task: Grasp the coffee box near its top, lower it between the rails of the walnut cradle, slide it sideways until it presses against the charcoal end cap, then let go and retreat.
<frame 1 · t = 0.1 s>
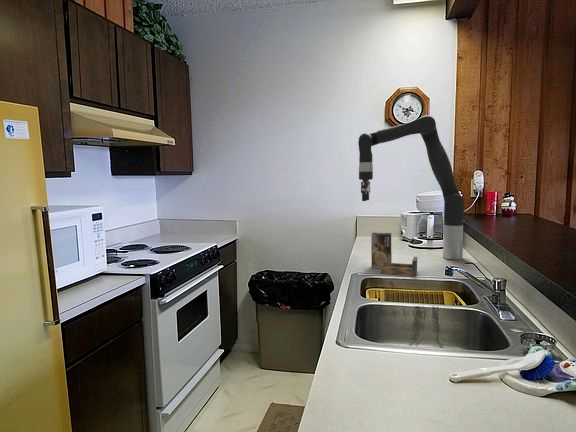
hand: (365, 200, 221), 29 cm above the countertop, fingers open, 8 cm apart
coffee box: (381, 267, 189), on the countertop
endcap cradle: (399, 272, 178), on the countertop
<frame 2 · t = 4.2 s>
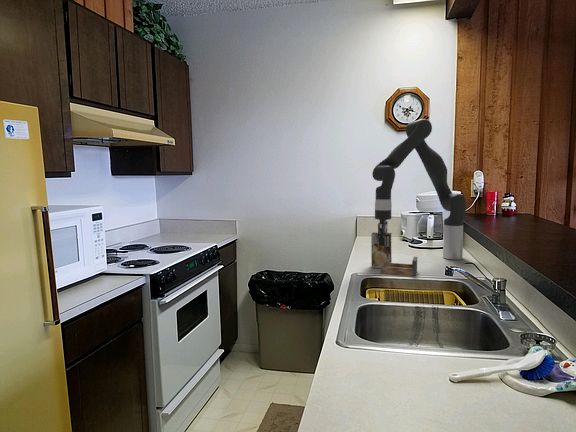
hand: (382, 244, 188), 11 cm above the countertop, fingers closed on coffee box, 6 cm apart
coffee box: (381, 267, 189), on the countertop, touching gripper
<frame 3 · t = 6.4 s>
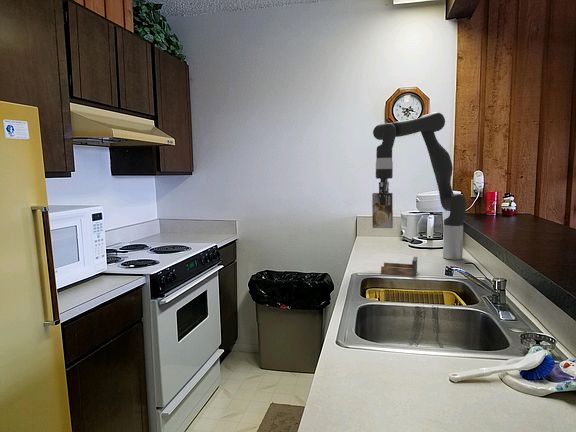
hand: (383, 204, 186), 30 cm above the countertop, fingers closed on coffee box, 6 cm apart
coffee box: (382, 228, 187), point 19 cm above the countertop, touching gripper
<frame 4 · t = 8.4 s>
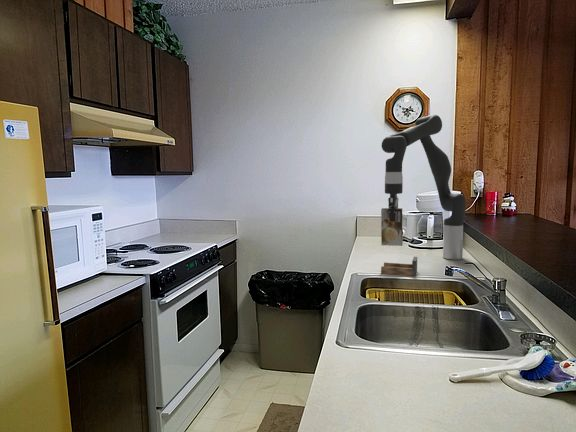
hand: (393, 220, 177), 23 cm above the countertop, fingers closed on coffee box, 6 cm apart
coffee box: (391, 245, 178), point 12 cm above the countertop, touching gripper
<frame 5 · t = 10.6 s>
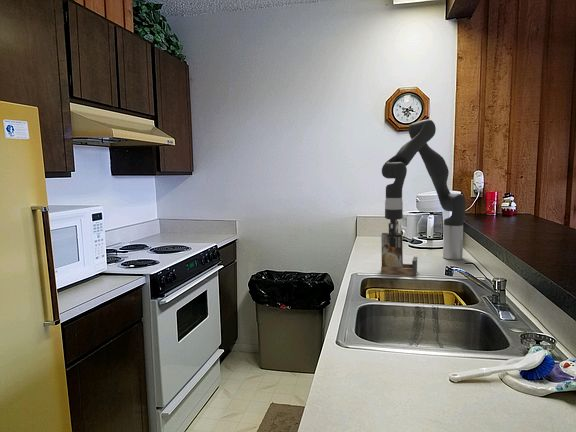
hand: (393, 245, 178), 12 cm above the countertop, fingers closed on coffee box, 6 cm apart
coffee box: (392, 269, 179), point 1 cm above the countertop, touching gripper
when the fingers open (12 cm above the countertop, at t = 12.7 s): coffee box stays where it is, resting on endcap cradle.
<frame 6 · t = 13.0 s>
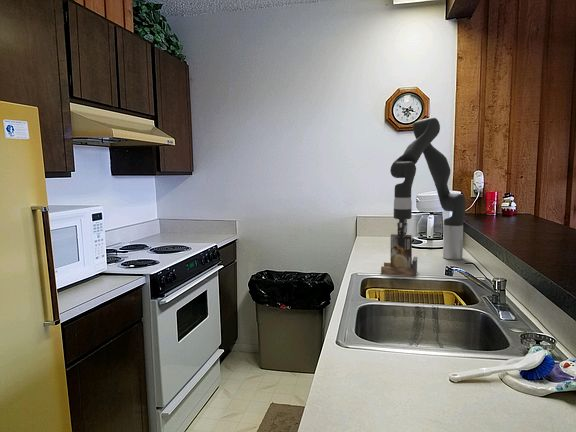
hand: (402, 244, 177), 13 cm above the countertop, fingers open, 8 cm apart
coffee box: (401, 271, 178), resting on endcap cradle
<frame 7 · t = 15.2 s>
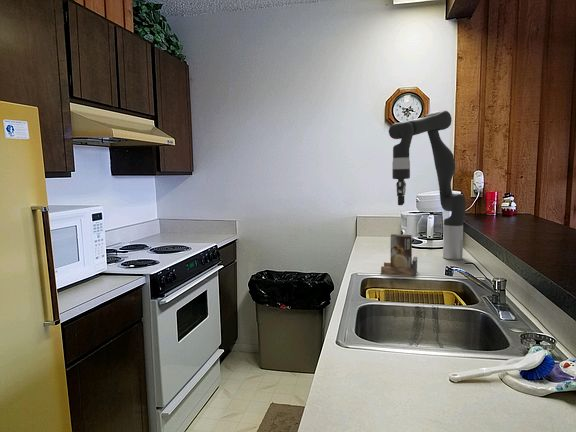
hand: (401, 204, 181), 30 cm above the countertop, fingers open, 8 cm apart
nothing on the countertop moved.
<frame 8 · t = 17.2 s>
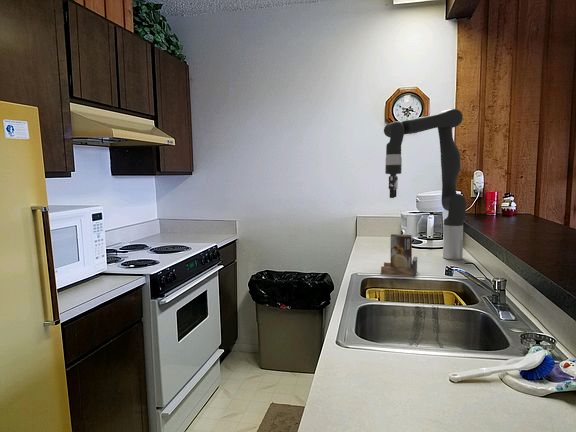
hand: (393, 197, 196), 32 cm above the countertop, fingers open, 8 cm apart
nothing on the countertop moved.
at the end: coffee box 0.4 cm from the target spot, resting on endcap cradle; coffee box tilted 0°; the gripper is holding nothing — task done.
